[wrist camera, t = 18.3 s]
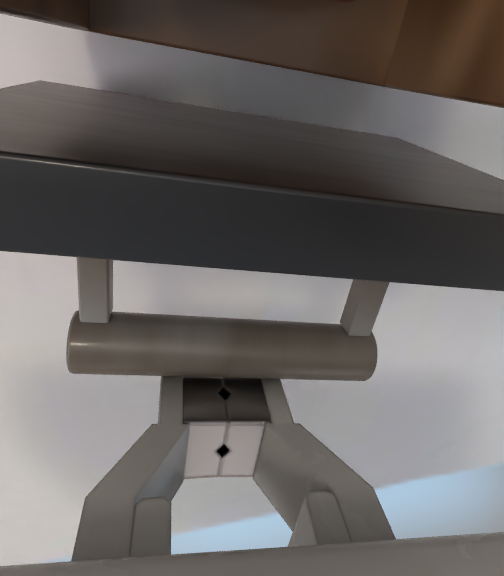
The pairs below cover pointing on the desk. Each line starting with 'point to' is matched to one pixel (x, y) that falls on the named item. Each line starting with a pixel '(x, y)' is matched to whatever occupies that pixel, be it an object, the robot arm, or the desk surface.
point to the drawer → (253, 179)
